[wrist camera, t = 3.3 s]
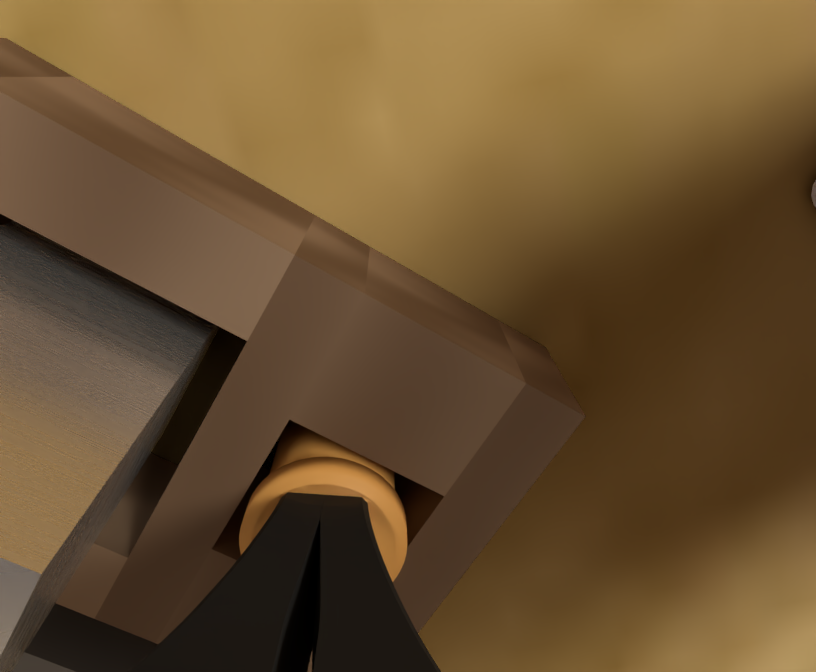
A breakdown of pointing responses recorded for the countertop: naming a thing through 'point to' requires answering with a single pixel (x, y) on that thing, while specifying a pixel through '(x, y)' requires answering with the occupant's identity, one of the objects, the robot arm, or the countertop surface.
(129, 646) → the grey square frame
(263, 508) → the pin
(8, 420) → the steel peg
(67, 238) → the socket block
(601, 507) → the countertop surface
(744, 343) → the countertop surface
